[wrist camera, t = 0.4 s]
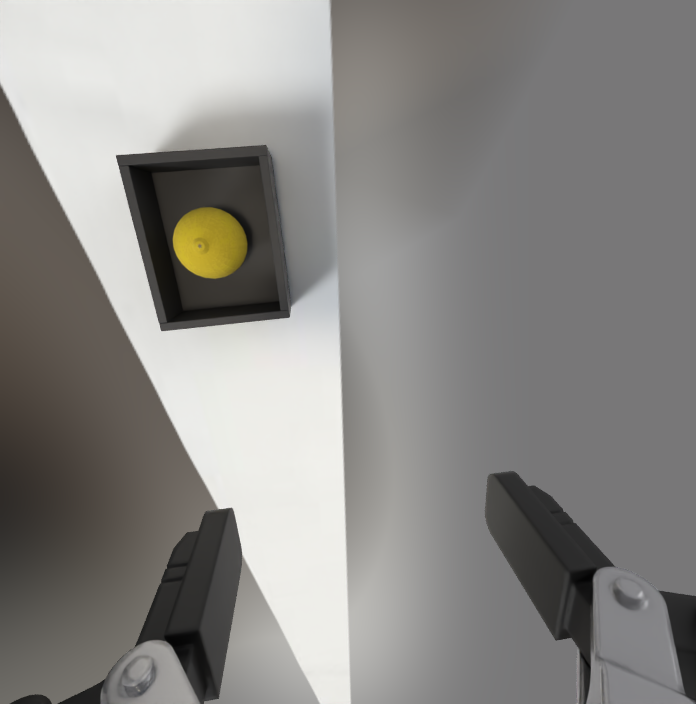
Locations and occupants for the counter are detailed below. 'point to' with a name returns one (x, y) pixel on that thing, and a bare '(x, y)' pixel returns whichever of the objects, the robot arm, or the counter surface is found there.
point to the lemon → (210, 242)
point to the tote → (217, 192)
